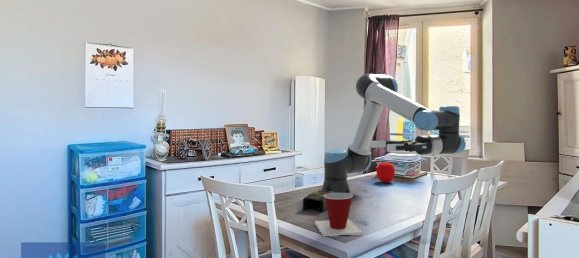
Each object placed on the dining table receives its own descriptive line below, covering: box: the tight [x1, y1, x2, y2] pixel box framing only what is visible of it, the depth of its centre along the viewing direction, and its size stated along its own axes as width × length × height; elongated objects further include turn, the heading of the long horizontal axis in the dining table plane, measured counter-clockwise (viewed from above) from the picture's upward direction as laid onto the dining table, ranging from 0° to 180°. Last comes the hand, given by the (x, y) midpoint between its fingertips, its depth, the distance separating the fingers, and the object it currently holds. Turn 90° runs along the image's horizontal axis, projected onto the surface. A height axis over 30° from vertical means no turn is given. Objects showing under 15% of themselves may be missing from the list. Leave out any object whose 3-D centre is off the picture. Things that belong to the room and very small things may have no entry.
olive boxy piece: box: [302, 189, 334, 213], centre depth 159 cm, size 20×10×6 cm, turn 157°
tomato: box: [376, 161, 396, 183], centre depth 211 cm, size 11×11×13 cm
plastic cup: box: [324, 193, 354, 229], centre depth 127 cm, size 11×11×12 cm
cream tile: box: [314, 219, 363, 237], centre depth 127 cm, size 14×14×1 cm
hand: (378, 146), depth 134 cm, fingers open, 13 cm apart
